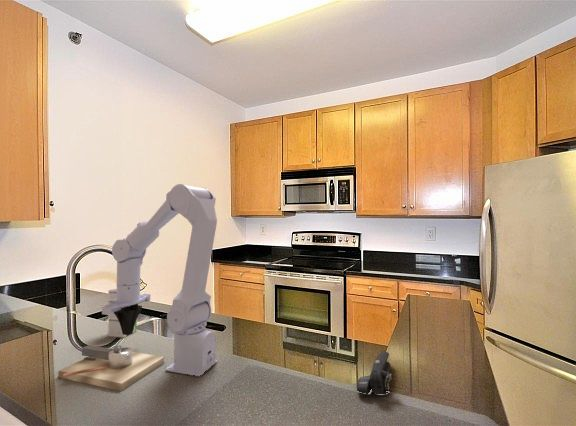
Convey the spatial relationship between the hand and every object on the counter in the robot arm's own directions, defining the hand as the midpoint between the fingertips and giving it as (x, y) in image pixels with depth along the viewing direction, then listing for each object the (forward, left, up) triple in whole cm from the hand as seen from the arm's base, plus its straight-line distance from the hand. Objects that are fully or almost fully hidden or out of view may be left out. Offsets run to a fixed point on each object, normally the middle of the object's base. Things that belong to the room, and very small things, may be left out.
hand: (127, 334), depth 82 cm
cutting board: (-5, +9, -5) cm, 11 cm away
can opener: (-66, -5, -5) cm, 66 cm away
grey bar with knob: (-3, +9, -3) cm, 10 cm away
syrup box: (+12, -10, -5) cm, 16 cm away
